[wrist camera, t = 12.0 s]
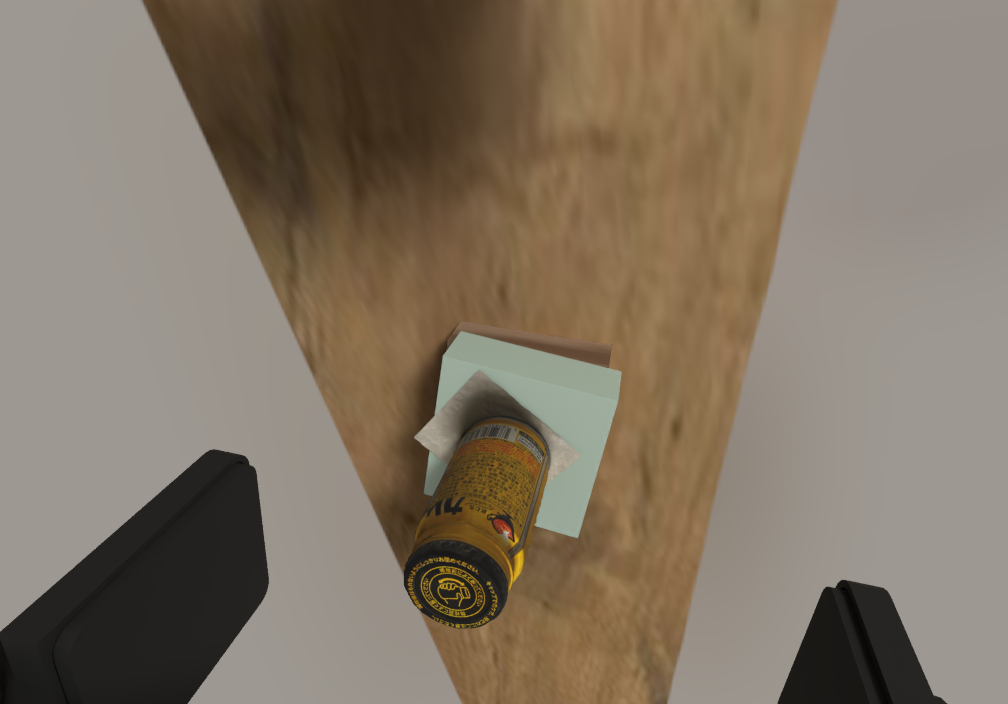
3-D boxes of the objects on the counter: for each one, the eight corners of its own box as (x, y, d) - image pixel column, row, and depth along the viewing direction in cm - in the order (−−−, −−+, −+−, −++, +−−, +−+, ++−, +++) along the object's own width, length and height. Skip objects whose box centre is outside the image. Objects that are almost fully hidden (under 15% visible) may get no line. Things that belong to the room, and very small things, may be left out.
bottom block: (463, 318, 47) (447, 339, 43) (612, 341, 45) (608, 365, 41) (457, 442, 51) (442, 470, 48) (592, 467, 50) (586, 499, 46)
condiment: (510, 514, 43) (462, 663, 33) (414, 436, 42) (333, 564, 32) (582, 453, 40) (555, 598, 29) (480, 367, 39) (414, 484, 28)
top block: (460, 330, 43) (442, 355, 39) (621, 371, 41) (618, 401, 38) (441, 461, 48) (423, 493, 44) (583, 501, 46) (577, 538, 43)
